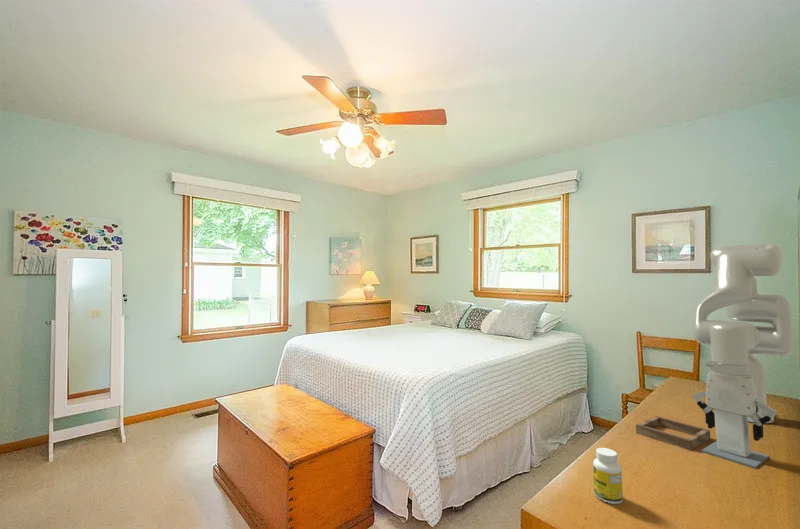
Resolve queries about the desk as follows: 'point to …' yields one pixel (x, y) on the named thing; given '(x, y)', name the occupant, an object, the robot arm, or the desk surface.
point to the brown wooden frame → (689, 443)
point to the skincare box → (732, 433)
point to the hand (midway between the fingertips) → (733, 433)
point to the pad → (737, 456)
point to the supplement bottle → (607, 476)
